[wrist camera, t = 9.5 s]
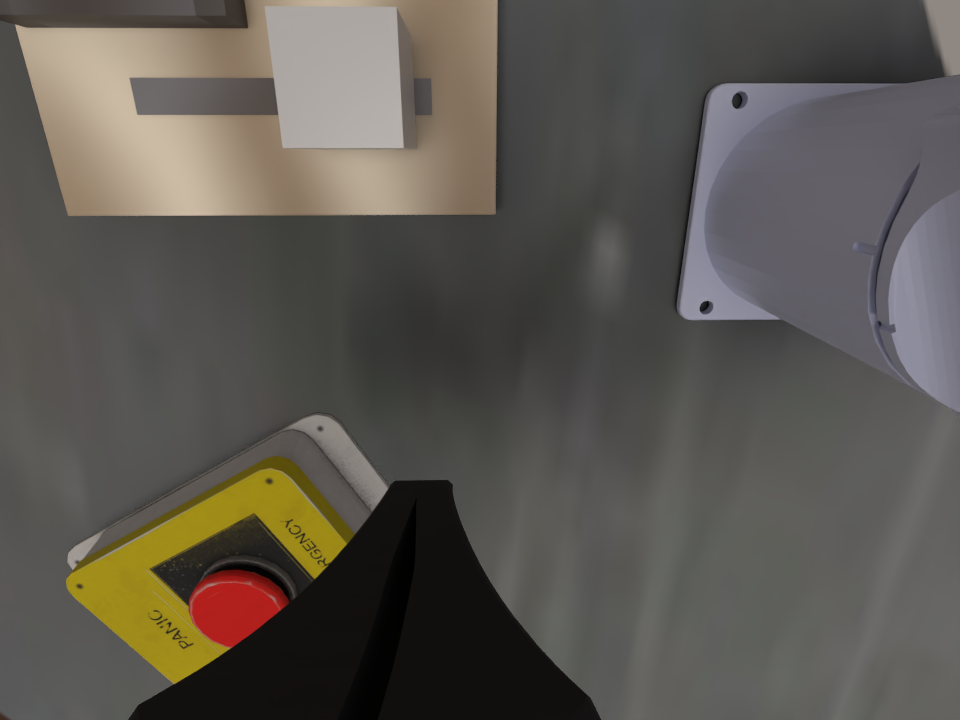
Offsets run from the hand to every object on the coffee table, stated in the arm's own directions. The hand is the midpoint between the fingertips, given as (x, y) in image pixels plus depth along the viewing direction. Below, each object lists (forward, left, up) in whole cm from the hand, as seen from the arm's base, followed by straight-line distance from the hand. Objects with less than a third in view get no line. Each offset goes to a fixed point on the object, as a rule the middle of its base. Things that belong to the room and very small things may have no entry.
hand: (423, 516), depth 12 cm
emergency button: (+9, +9, -10) cm, 16 cm away
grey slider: (+2, -9, -8) cm, 12 cm away
